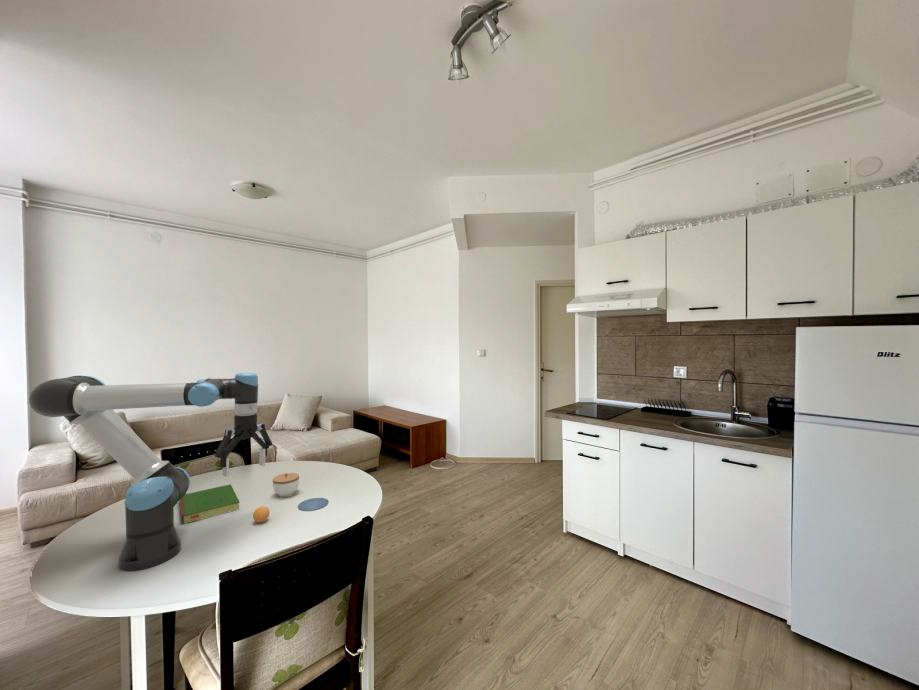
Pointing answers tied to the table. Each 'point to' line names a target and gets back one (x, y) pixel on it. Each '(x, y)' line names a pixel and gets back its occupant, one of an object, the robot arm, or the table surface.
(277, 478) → the lidded jar
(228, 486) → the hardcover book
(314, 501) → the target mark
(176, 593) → the table surface
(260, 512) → the ball
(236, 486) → the table surface
